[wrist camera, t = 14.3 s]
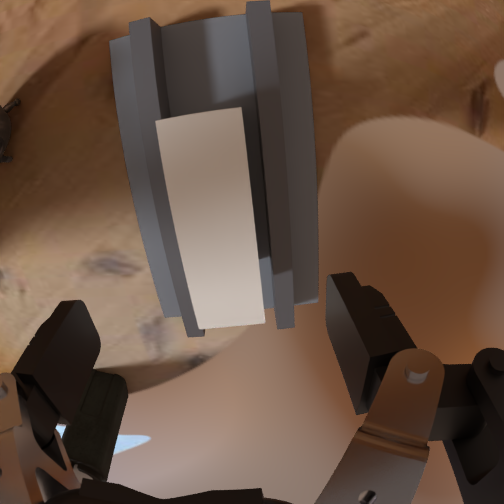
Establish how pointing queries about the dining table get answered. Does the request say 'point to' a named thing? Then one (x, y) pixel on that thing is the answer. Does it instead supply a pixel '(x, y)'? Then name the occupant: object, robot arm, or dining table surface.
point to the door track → (256, 138)
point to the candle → (96, 426)
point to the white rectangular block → (213, 215)
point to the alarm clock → (6, 129)
